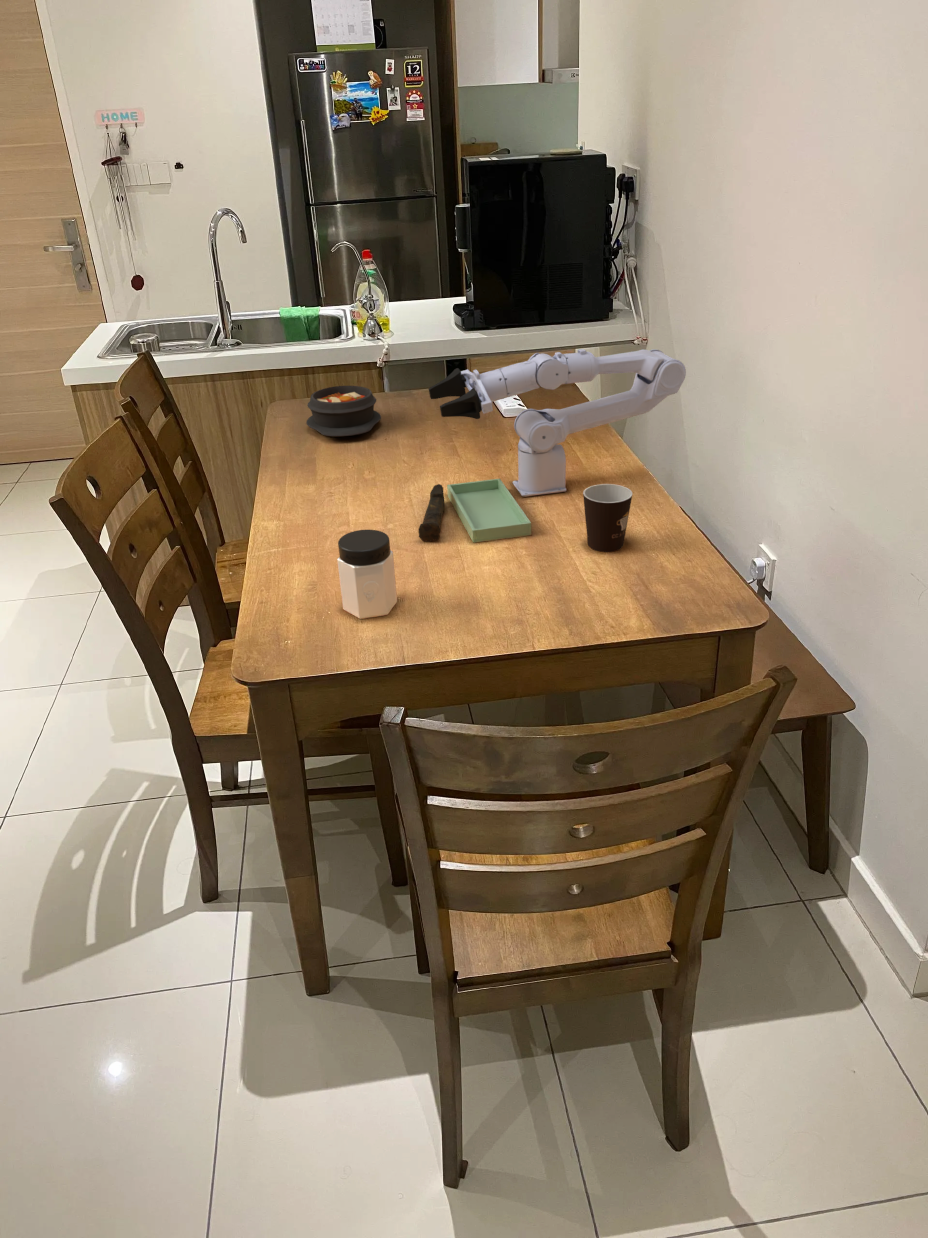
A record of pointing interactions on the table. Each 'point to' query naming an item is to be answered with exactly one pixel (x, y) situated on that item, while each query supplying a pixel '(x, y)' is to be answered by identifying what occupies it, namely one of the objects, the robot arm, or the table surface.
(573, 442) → the table surface
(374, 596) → the jar
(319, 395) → the casserole
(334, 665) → the table surface
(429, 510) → the hand tool
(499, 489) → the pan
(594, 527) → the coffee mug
